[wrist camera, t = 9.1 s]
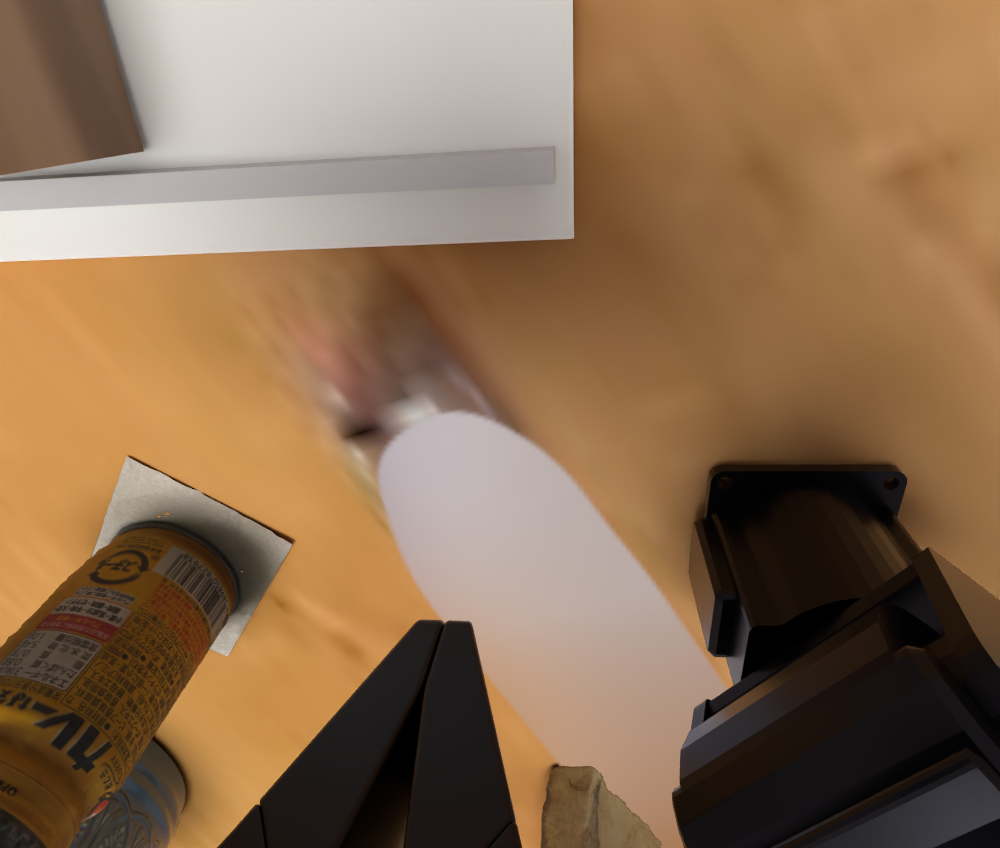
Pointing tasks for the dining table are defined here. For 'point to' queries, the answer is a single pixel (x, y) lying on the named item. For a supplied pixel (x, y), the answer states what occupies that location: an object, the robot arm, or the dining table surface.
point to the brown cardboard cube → (60, 87)
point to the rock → (589, 814)
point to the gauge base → (318, 131)
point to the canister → (139, 807)
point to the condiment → (120, 649)
